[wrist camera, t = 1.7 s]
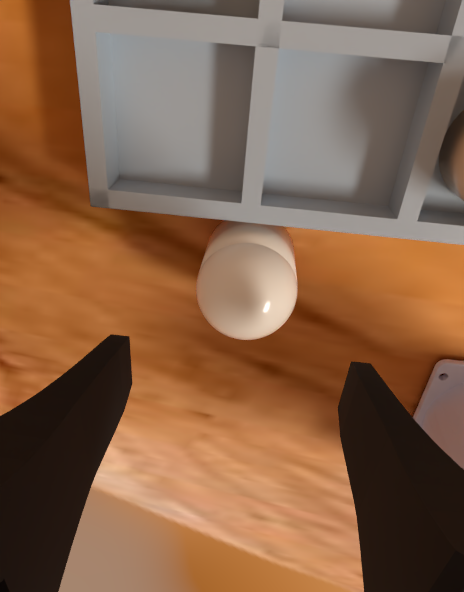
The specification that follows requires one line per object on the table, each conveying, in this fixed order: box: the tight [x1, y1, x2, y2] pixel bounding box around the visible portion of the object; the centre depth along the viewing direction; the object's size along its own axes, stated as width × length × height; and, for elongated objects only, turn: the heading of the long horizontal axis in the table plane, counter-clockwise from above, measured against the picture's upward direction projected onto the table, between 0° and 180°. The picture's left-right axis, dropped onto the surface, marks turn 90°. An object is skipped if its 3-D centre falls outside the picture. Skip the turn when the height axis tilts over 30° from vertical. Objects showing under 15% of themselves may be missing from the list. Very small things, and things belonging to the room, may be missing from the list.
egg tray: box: [70, 0, 464, 245], centre depth 15 cm, size 14×20×3 cm
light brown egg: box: [196, 220, 298, 340], centre depth 19 cm, size 4×4×6 cm
